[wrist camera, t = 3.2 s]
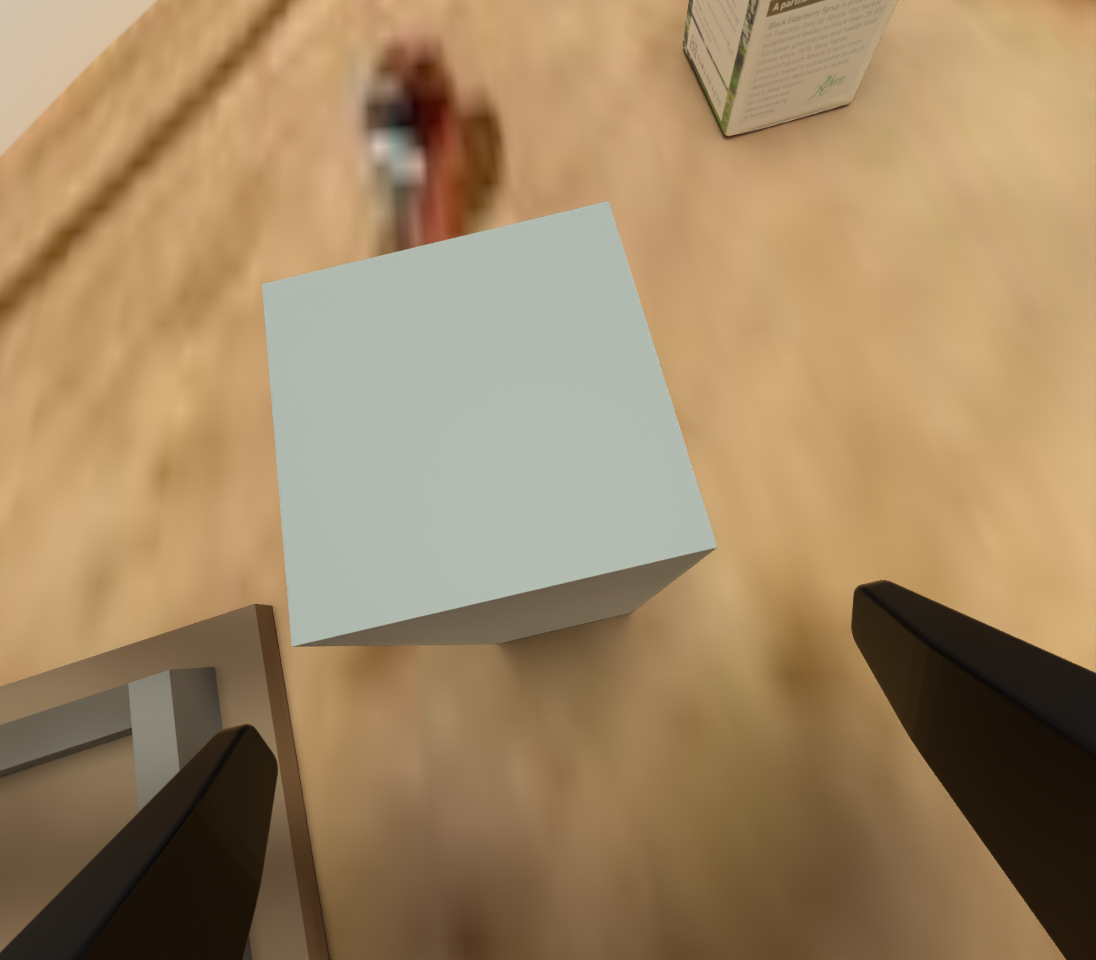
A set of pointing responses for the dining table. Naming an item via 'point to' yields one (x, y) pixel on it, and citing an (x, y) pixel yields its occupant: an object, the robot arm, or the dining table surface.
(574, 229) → the block
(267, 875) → the jig
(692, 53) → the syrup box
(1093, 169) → the dining table surface
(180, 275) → the dining table surface
